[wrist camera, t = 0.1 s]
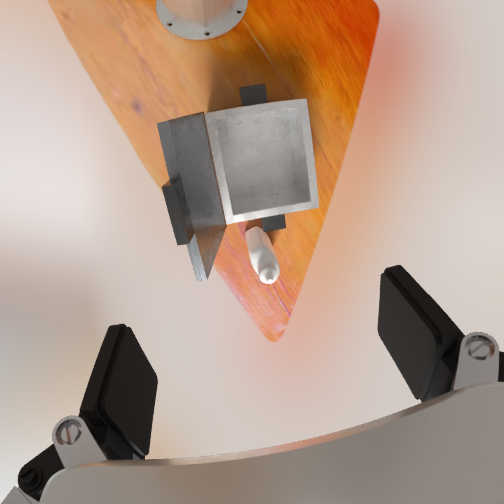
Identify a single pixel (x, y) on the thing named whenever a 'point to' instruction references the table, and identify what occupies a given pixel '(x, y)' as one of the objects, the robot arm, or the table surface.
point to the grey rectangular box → (263, 158)
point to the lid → (193, 190)
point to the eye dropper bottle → (262, 255)
